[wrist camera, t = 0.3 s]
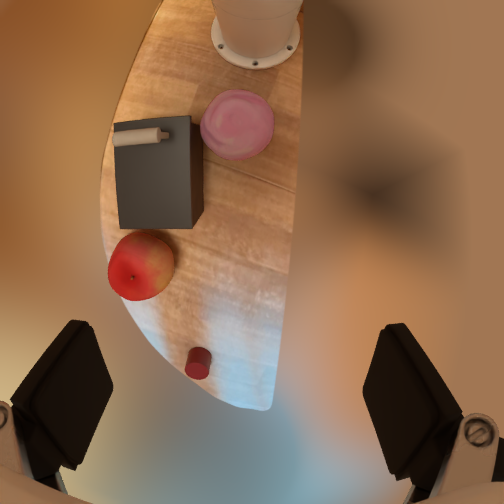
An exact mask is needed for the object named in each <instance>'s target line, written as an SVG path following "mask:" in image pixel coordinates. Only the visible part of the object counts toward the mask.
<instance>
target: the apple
mask: <svg viewBox="0 0 504 504" xmlns="http://www.w3.org/2000/svg"><path fill="white" fill-rule="evenodd" d="M173 273H174V257H173V254H172V251H171V249H170V248H169V246H168V245H167V244H166V243H164V242H163V241H161V240H160V239H158V238H156V237H154V236H152V235H149V234H146V233H141V232H136V233H131V234H129V235H127V236H125V237H124V238H123V239H122V240H121V241H120V242H119V243H118V244H117V246H116V248H115V250H114V251H113V254H112V256H111V259H110V262H109V266H108V279H109V283H110V285H111V287H112V289H113V290H114V291H115V292H116V293H118V294H119V295H120V296H121V297H123V298H125V299H127V300H130V301H141V300H146V299H149V298H152V297H154V296H156V295H157V294H159V293H161V292H162V291H163V290H164V289H165V288H166V287H167V286H168V284H169V283H170V281H171V279H172V277H173Z"/></svg>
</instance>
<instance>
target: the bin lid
mask: <svg viewBox="0 0 504 504" xmlns="http://www.w3.org/2000/svg"><path fill="white" fill-rule="evenodd" d="M112 141H113V145H114V158H115V178H116V193H117V204H118V215H119V224H120V229H192V228H193V206H192V165H191V116H176V117H163V118H152V119H142V120H134V121H126V122H118V123H114V134H113V137H112Z"/></svg>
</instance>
